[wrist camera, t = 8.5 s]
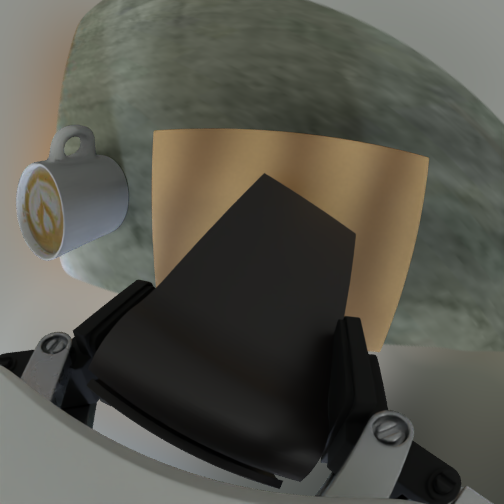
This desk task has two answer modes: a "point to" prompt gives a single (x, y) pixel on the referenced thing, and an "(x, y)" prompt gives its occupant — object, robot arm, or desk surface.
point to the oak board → (306, 185)
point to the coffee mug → (70, 196)
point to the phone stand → (239, 339)
